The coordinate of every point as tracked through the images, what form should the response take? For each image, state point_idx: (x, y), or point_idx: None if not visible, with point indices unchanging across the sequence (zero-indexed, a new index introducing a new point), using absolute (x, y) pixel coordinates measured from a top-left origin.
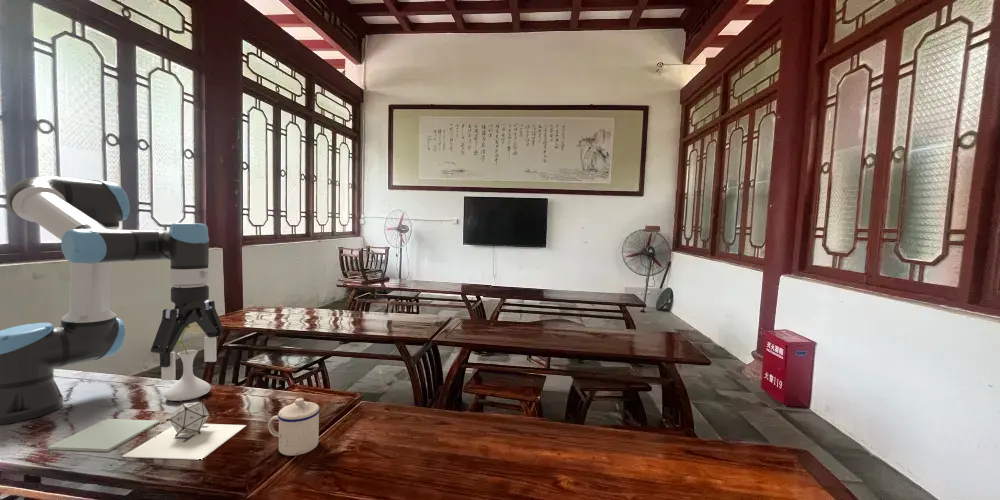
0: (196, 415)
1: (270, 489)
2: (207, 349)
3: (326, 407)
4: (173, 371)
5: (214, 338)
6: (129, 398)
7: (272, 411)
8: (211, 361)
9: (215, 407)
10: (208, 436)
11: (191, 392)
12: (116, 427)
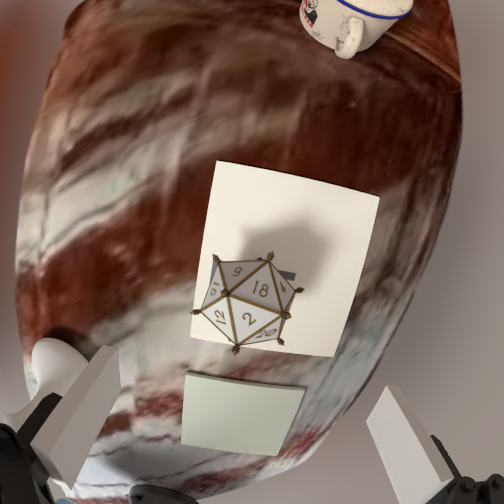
0: (276, 279)
1: (456, 62)
2: (94, 424)
3: (136, 17)
4: (411, 410)
5: (50, 448)
6: (99, 440)
7: (133, 131)
8: (118, 363)
9: (105, 293)
10: (274, 231)
11: (77, 366)
12: (215, 421)
